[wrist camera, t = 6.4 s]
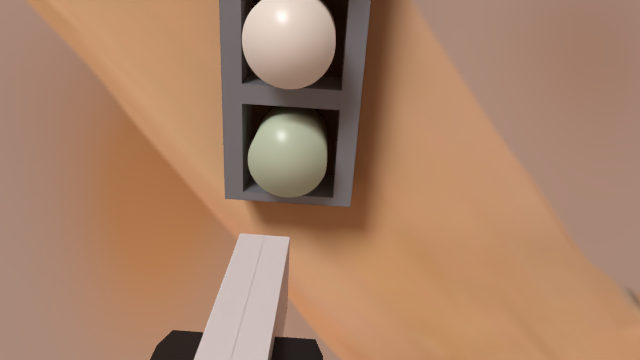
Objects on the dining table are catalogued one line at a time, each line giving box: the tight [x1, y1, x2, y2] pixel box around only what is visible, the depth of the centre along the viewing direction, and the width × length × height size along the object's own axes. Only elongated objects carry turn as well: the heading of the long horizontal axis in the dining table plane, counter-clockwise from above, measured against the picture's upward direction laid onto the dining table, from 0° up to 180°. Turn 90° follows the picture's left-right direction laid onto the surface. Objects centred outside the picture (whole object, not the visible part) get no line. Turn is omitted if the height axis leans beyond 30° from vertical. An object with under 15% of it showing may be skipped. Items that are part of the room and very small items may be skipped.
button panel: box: [219, 0, 371, 207], centre depth 23 cm, size 18×7×3 cm, turn 176°
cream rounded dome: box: [242, 0, 336, 89], centre depth 21 cm, size 4×4×4 cm
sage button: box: [248, 106, 328, 197], centre depth 25 cm, size 4×4×4 cm
